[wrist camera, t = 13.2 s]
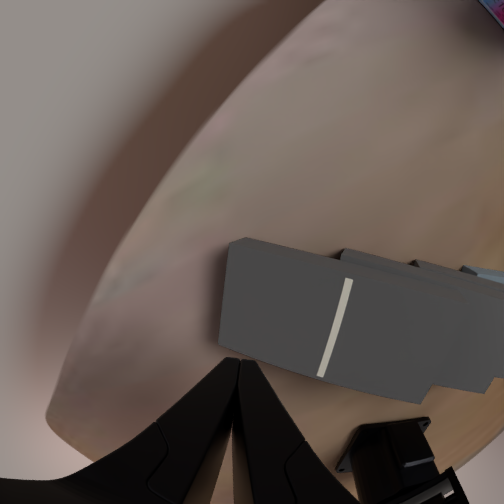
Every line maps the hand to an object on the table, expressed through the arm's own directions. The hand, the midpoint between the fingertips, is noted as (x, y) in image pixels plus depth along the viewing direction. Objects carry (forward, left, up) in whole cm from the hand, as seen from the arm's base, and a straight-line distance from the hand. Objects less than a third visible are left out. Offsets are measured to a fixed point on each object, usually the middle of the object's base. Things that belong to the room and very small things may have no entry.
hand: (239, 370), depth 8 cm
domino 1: (0, +1, -6) cm, 6 cm away
